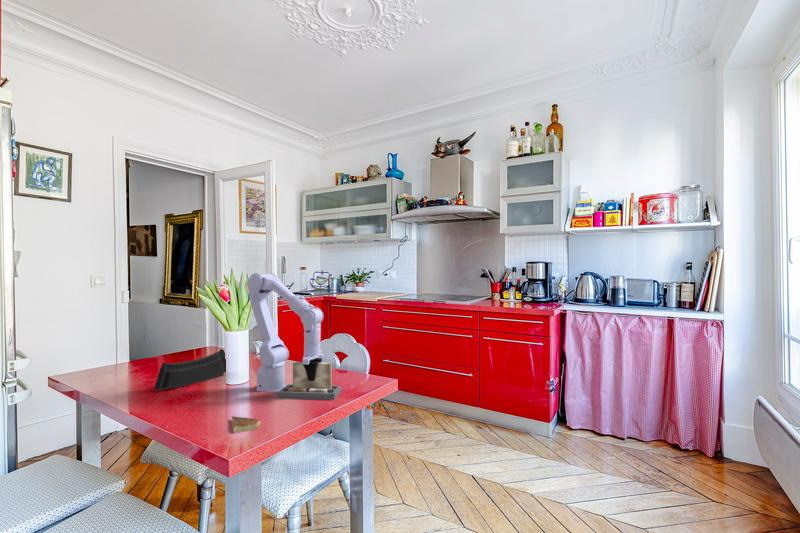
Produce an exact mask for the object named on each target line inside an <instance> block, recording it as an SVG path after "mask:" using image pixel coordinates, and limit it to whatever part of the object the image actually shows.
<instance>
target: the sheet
mask: <svg viewBox="0 0 800 533" xmlns="http://www.w3.org/2000/svg"><path fill="white" fill-rule="evenodd" d="M302 362H303V361H294V362H292V384H293V388H321V389H332V385H333V382H332V381H333V377H332V376H333V374H332V373H333V365H332V364H333V363H332V362H321V363H318V365H317V369H316V375H315V380H314V381H308V378H307V373H306V370H305V368H304V366H303V364H302Z"/></svg>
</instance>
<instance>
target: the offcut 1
mask: <svg viewBox="0 0 800 533" xmlns="http://www.w3.org/2000/svg"><path fill="white" fill-rule="evenodd" d="M288 391H289V392H307V388H289V389H288Z"/></svg>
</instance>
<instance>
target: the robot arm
mask: <svg viewBox="0 0 800 533" xmlns="http://www.w3.org/2000/svg"><path fill="white" fill-rule="evenodd" d="M246 283H247V287H248V291H249V292H248V294H249V296H248V297H249V302H250V305H251V309H252V312H253V314H254V315H253V316H254V318H255V319H254V320H255V322H256V325H257V328H258V331H259V334H260V337H261V338H260V339H261V342H262V344H261V345H260V347H259V361H260V363H261V365H260V366H259V367H258V369H257V371H256V391H257V392H277V393H278V391H280V390H281V389H283V388H284V387H285V386H287V385H288V384H285V382H286V381H285V380H286V379H285V376H286V374H285V371H286V369H285V368H286V366H285V364H286V361H288V359H289V357H290V353H289V352H290V351H289V350H288V347H286V345H285V344H284V341H283V340H282V339H281V338H278V335H277V332H276V329H275V325H274V322H273V319H272V315H271V313H270V309H269V306H268V303H267V297H268V296H269V294H270V293H271V292H272V291H273V292H275V293H276V294H277V295H278V296H280V297H281V298H282V299H283V300H284V301H286V302H288V307H289V309H290V310H291V311H293V312H294V313H295V314H296V315H297V316H299V318H300V321H301V323H302V324H303V329H304V332H303V337H304V338H303V339H304V340H303V342H304V344H303V358H302V361H301V362H302V364H303V366H304V368H305V370H306V373H307V378H308V381H314V380H315V375H316V369H317V365H318V363H322V362H323V357H324V355H325V354H324V353H322V350H321V332H322V331H321V330H322V329H321V323H322V322H323V321H324V312H323V311H322V310H321V308H319V307H314V305H313V304H311V303H309V302H308V300H306V299H305V296H304V295H299V294H298V295H295V294H294V292H292V291H291V290H290V288H288V287H287V286H286V285H285V284H284V283H283V281H281V278H280V277H279V276H277V275H276V274H275V273H272V272H269V273H258V272H254V273H252V274H251V275H249V279H248V280H247V282H246Z"/></svg>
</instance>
